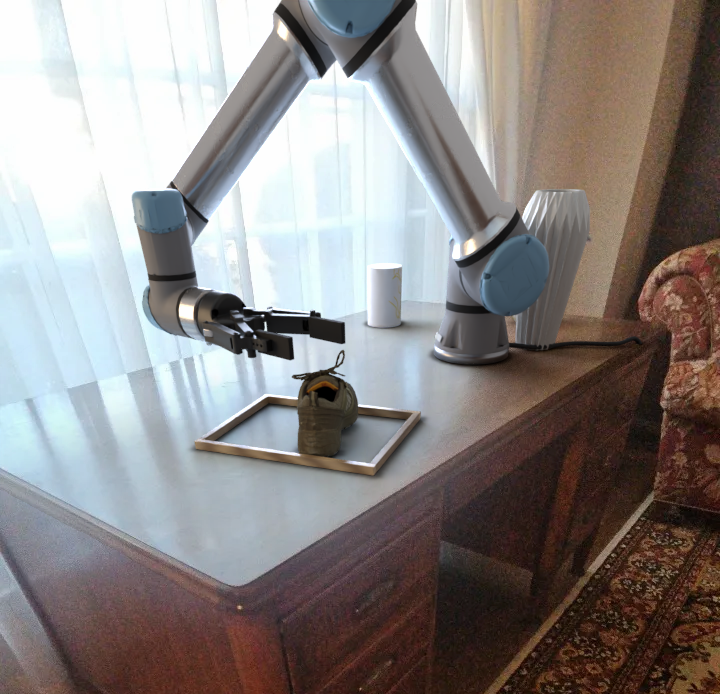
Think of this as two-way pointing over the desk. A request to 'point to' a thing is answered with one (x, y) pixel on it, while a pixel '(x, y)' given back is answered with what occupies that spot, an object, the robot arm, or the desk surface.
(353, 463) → the wooden frame
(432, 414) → the desk surface
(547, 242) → the vase
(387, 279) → the cup
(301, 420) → the hiking shoe
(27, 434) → the desk surface
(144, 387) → the desk surface
